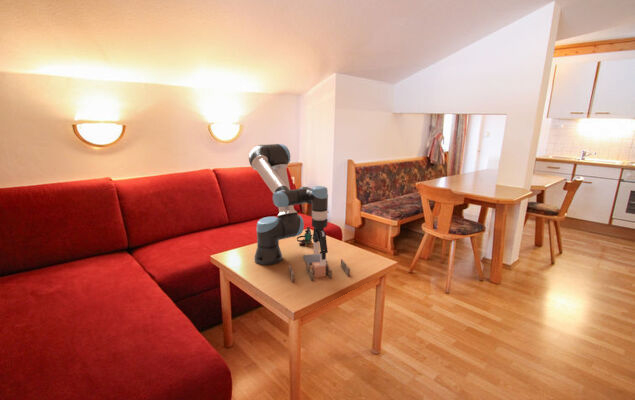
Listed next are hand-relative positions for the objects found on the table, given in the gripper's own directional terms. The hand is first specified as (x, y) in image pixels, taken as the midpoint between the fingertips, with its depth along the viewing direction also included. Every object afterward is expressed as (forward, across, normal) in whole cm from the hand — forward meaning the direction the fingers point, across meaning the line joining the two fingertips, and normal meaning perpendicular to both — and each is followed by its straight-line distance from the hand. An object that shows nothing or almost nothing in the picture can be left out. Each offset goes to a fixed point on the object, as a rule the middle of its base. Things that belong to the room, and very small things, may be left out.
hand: (319, 259), depth 158 cm
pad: (+8, +18, -2) cm, 19 cm away
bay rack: (+8, +1, 0) cm, 8 cm away
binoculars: (+8, +42, -1) cm, 42 cm away
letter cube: (+8, +1, 0) cm, 8 cm away
